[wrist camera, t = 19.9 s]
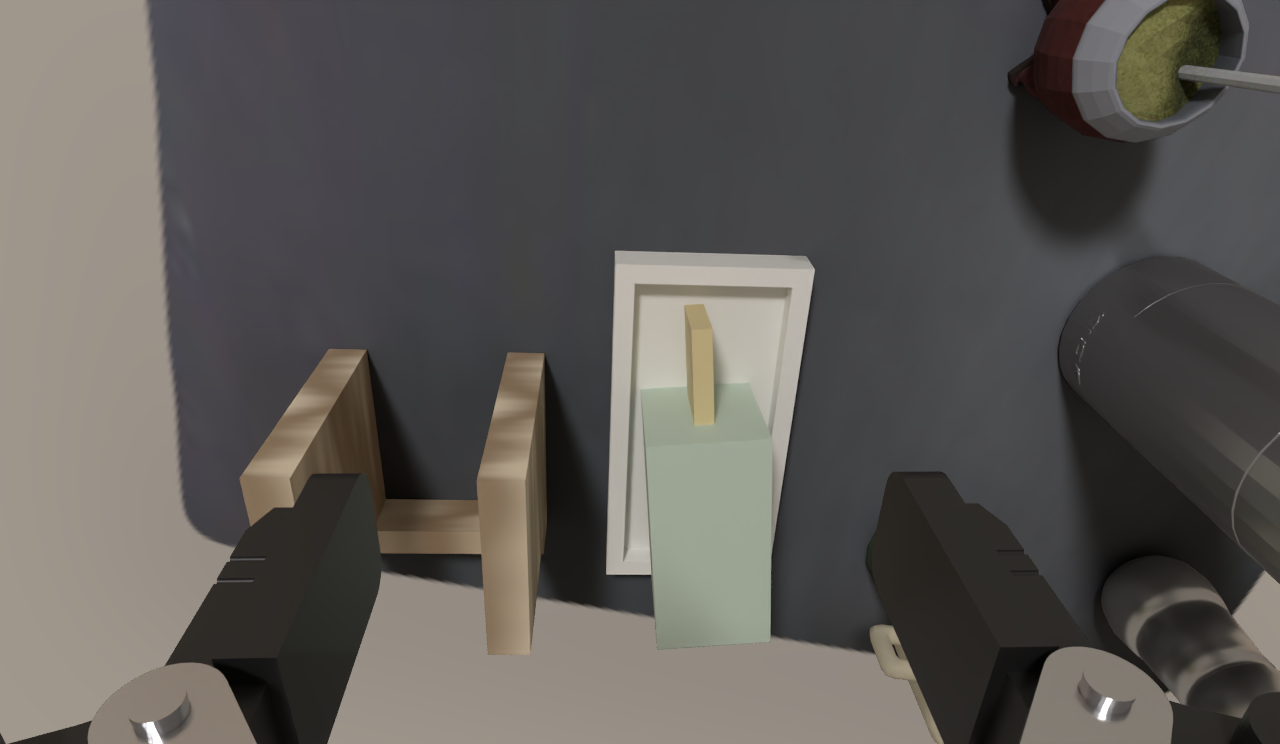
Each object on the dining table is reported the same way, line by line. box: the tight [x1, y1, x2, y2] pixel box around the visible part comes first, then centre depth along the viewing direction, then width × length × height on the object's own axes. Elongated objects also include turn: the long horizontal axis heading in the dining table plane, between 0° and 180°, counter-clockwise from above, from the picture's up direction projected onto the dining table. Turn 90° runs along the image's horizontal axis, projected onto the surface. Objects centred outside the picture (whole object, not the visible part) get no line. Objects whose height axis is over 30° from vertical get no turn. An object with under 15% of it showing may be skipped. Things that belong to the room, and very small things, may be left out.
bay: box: [240, 349, 547, 655], centre depth 41 cm, size 12×12×12 cm
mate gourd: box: [1008, 0, 1280, 143], centre depth 31 cm, size 8×8×15 cm
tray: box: [606, 251, 815, 575], centre depth 45 cm, size 10×20×2 cm, turn 178°
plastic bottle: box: [1101, 555, 1280, 718], centre depth 45 cm, size 6×7×20 cm
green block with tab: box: [641, 304, 772, 650], centre depth 42 cm, size 6×17×7 cm, turn 3°
